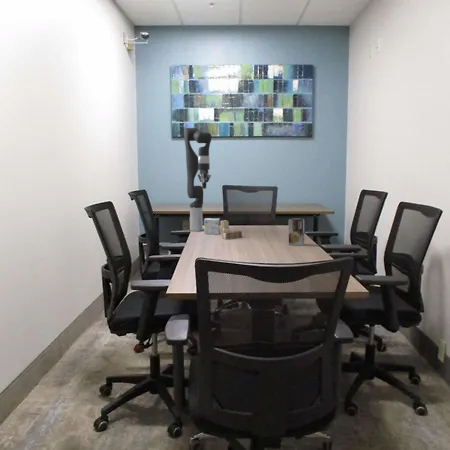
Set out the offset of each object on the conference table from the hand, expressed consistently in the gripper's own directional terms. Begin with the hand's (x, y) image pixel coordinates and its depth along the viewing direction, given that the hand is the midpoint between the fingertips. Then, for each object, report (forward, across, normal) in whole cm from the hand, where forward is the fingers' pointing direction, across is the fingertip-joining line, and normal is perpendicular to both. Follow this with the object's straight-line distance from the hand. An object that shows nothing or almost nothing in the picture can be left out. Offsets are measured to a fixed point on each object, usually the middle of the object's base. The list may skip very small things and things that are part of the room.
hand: (204, 188), depth 309 cm
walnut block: (+31, -16, -4) cm, 35 cm away
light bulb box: (+33, +7, -11) cm, 36 cm away
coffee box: (+33, -60, -28) cm, 74 cm away
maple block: (+33, -4, -14) cm, 36 cm away
